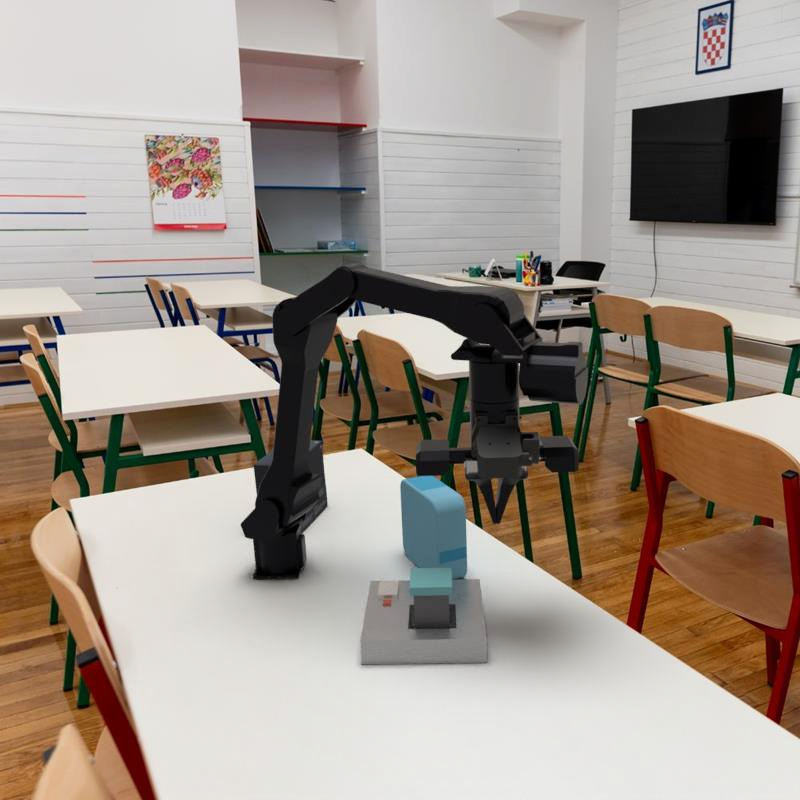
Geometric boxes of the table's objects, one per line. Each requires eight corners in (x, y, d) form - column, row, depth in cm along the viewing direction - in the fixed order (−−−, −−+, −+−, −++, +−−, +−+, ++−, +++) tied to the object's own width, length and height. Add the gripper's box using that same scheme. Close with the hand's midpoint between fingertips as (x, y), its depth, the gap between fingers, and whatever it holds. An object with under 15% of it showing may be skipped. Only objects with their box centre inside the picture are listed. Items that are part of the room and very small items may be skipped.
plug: (412, 650, 89) (409, 587, 87) (413, 628, 94) (410, 568, 92) (453, 650, 89) (452, 587, 87) (453, 628, 94) (451, 567, 92)
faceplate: (361, 664, 87) (360, 635, 86) (371, 602, 101) (370, 576, 100) (487, 662, 86) (486, 633, 85) (480, 600, 100) (479, 574, 99)
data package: (468, 580, 105) (466, 497, 102) (438, 588, 104) (435, 504, 101) (430, 547, 116) (427, 471, 113) (402, 553, 114) (399, 476, 111)
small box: (291, 503, 136) (286, 438, 133) (328, 506, 134) (324, 439, 131) (258, 534, 123) (252, 463, 120) (298, 537, 121) (292, 465, 119)
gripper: (412, 419, 83) (417, 553, 87) (588, 413, 82) (586, 550, 86) (414, 394, 93) (419, 514, 97) (571, 389, 92) (569, 511, 96)
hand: (496, 522), depth 94 cm, fingers closed
